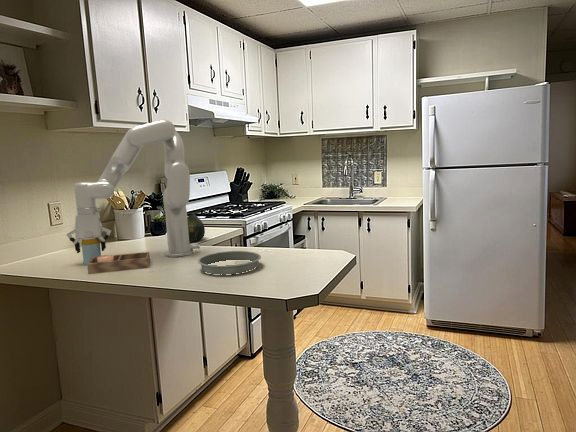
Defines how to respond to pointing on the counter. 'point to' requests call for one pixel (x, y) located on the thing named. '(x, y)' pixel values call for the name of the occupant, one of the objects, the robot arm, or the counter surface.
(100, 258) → the pink small block
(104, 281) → the counter surface
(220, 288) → the counter surface
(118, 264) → the caddy
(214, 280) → the counter surface
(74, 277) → the counter surface
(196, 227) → the squash
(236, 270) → the cake pan
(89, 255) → the bottle
